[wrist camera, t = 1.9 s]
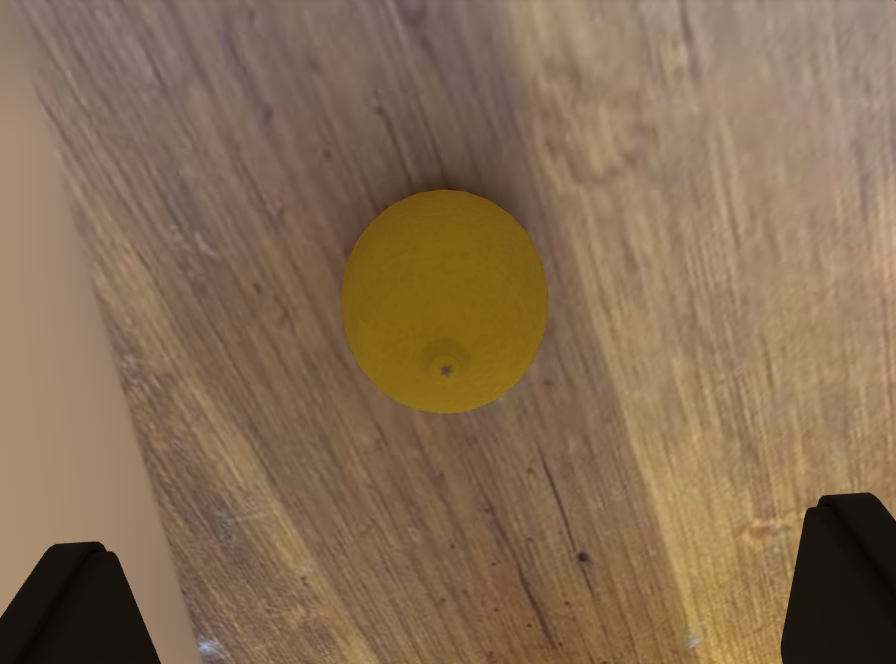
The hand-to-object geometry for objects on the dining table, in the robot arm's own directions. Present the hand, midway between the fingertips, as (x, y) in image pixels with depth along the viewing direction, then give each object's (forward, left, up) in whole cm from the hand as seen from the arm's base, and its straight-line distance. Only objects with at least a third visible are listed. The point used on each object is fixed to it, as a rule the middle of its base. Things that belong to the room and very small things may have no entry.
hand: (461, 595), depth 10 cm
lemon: (0, 0, -15) cm, 15 cm away
